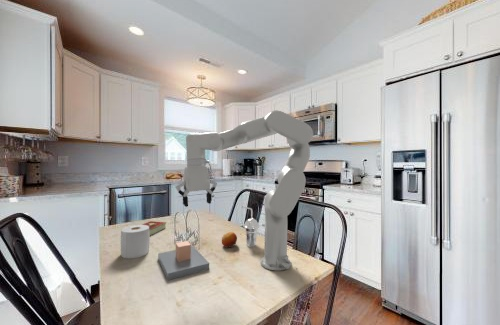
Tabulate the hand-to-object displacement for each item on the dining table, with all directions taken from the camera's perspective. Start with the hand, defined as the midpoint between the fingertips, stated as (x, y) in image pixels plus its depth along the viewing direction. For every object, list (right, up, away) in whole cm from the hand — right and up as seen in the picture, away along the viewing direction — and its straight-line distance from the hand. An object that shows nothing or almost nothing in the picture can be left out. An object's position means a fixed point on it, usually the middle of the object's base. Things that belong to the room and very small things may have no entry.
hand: (197, 204), depth 91 cm
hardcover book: (-41, -25, +42) cm, 63 cm away
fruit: (+11, -26, +22) cm, 36 cm away
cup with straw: (+22, -26, +23) cm, 41 cm away
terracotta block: (-7, -23, +2) cm, 24 cm away
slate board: (-7, -25, +1) cm, 26 cm away
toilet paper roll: (-32, -25, +12) cm, 42 cm away
